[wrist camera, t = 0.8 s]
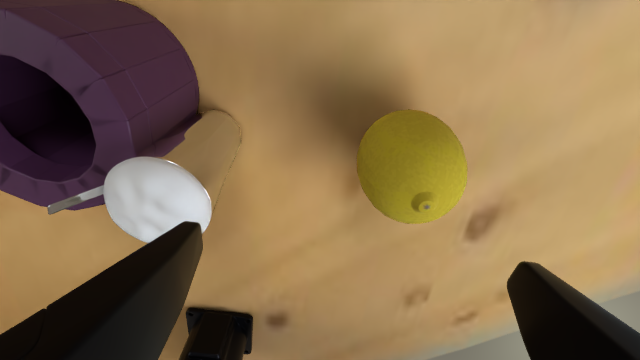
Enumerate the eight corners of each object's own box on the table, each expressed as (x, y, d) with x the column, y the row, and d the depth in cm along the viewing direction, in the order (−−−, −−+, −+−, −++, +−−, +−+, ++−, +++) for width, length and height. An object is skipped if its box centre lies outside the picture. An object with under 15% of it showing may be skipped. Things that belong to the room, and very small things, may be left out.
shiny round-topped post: (174, 82, 19) (41, 159, 10) (259, 114, 20) (202, 209, 11) (166, 145, 21) (52, 251, 12) (242, 171, 22) (185, 286, 13)
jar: (203, 151, 21) (147, 220, 15) (76, 134, 21) (-36, 196, 15) (194, 12, 17) (109, 24, 10) (32, -14, 16) (-158, -17, 10)
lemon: (455, 108, 19) (523, 172, 12) (414, 180, 22) (451, 265, 15) (371, 80, 18) (394, 132, 12) (341, 158, 21) (345, 237, 14)
